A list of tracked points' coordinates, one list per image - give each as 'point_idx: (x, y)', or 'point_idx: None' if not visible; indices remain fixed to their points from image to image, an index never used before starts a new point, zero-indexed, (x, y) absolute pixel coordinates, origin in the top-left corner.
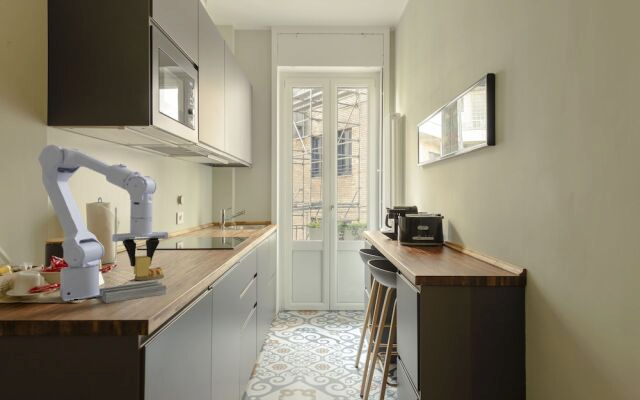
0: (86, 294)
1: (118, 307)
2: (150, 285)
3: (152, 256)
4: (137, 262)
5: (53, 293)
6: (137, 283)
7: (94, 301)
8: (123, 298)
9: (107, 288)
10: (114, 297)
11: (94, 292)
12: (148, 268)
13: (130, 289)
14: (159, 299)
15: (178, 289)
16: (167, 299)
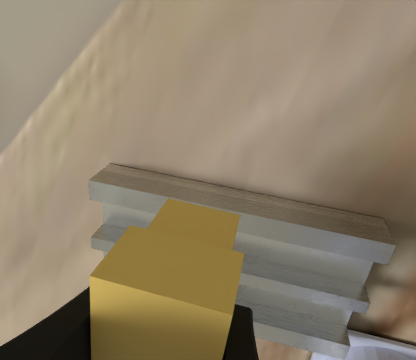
0: (392, 356)
1: (392, 99)
2: None
3: (55, 313)
4: (233, 284)
5: None
6: None
7: (392, 283)
8: (302, 207)
9: (316, 336)
10: (347, 222)
11: (354, 356)
12: (150, 225)
13: None
14: (171, 89)
15: (42, 191)
16: (141, 56)
